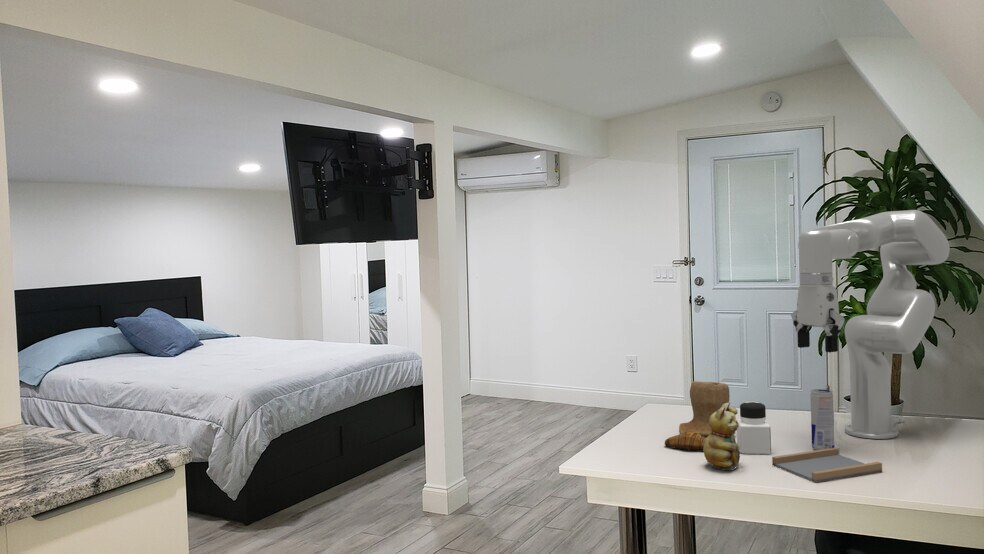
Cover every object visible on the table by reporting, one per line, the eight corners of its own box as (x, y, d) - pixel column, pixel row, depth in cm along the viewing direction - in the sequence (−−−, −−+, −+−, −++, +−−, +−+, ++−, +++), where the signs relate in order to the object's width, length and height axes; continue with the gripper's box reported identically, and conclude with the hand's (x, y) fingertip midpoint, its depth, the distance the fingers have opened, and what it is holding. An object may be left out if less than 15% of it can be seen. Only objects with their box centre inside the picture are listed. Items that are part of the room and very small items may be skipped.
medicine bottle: (771, 454, 177) (770, 406, 176) (741, 454, 178) (739, 406, 178) (766, 446, 183) (765, 400, 183) (737, 446, 185) (735, 400, 185)
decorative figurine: (736, 474, 162) (734, 408, 162) (699, 470, 166) (697, 406, 166) (743, 462, 171) (741, 400, 170) (708, 459, 175) (706, 398, 174)
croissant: (661, 451, 185) (661, 431, 184) (667, 444, 191) (666, 425, 190) (716, 455, 179) (715, 435, 178) (720, 448, 185) (719, 429, 184)
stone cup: (730, 429, 202) (728, 376, 202) (738, 440, 190) (736, 384, 190) (674, 429, 204) (673, 377, 204) (679, 440, 192) (677, 385, 192)
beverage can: (833, 447, 180) (831, 388, 180) (835, 453, 175) (834, 392, 175) (811, 446, 182) (809, 387, 181) (812, 452, 177) (811, 391, 176)
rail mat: (835, 455, 173) (834, 447, 173) (882, 472, 160) (882, 463, 160) (772, 465, 168) (772, 456, 168) (815, 482, 155) (815, 473, 155)
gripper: (855, 280, 170) (856, 352, 171) (804, 279, 187) (805, 344, 187) (828, 282, 168) (830, 354, 169) (779, 280, 185) (781, 346, 185)
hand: (817, 349), depth 178 cm, fingers open, 9 cm apart
